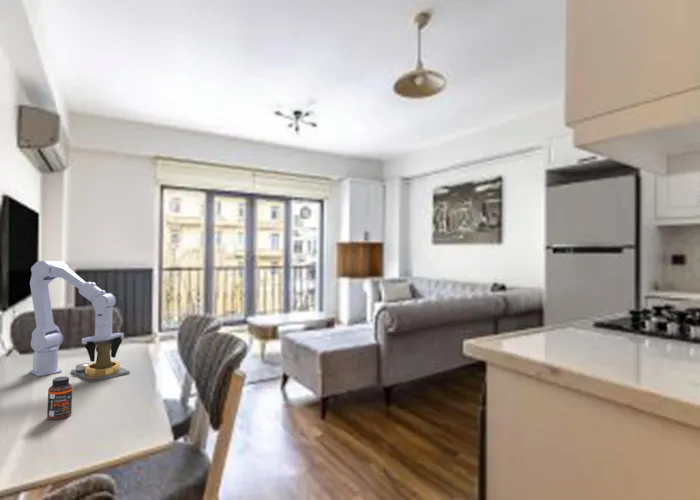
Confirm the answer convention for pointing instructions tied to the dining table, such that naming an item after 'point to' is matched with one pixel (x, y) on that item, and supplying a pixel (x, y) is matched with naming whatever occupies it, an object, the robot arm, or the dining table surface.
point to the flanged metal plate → (99, 371)
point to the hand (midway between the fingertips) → (103, 359)
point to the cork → (103, 356)
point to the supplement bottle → (59, 398)
